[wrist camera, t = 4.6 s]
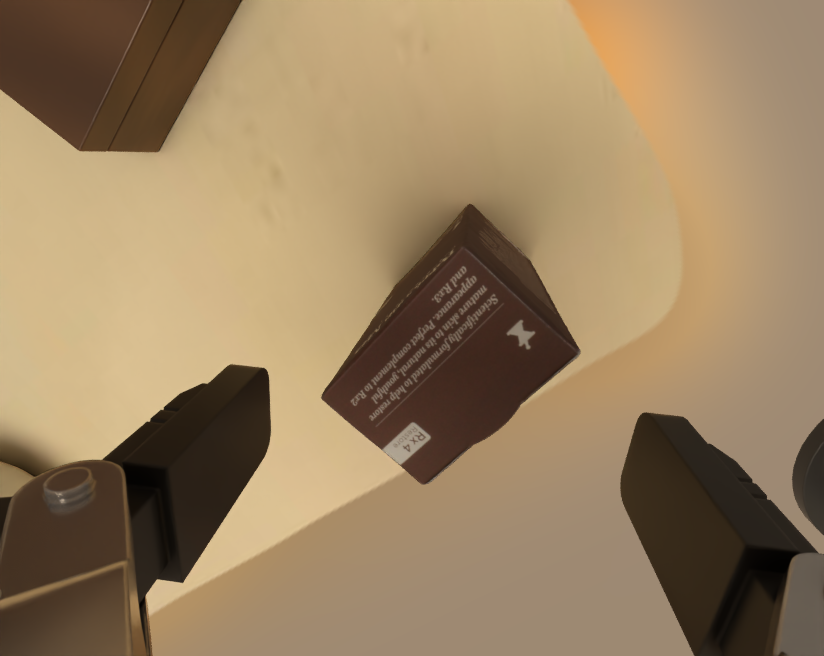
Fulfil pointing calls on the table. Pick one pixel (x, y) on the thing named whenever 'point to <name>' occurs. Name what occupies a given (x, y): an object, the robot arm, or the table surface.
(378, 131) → the table surface
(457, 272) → the box
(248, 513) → the table surface
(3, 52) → the rack
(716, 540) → the robot arm
